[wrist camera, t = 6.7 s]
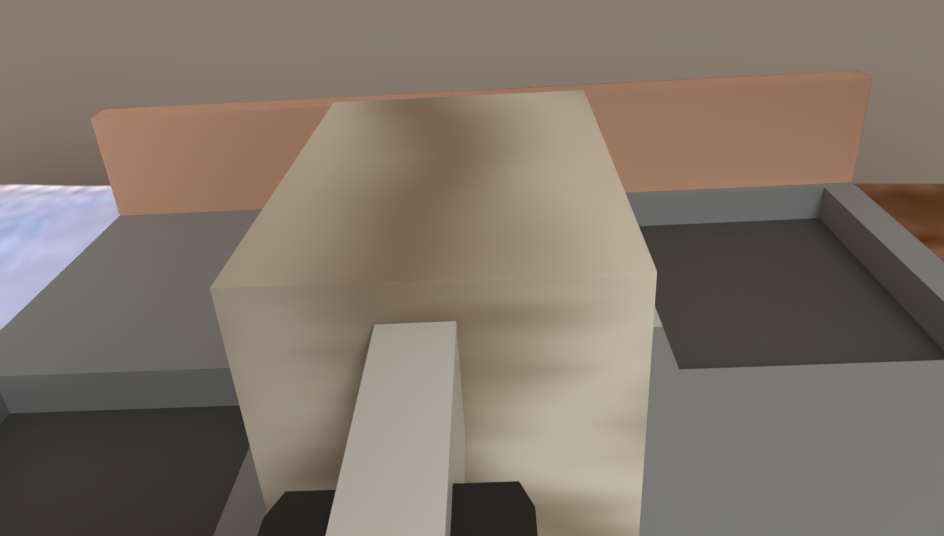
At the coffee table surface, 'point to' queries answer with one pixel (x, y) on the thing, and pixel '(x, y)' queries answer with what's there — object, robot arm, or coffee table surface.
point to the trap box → (674, 330)
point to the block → (454, 296)
